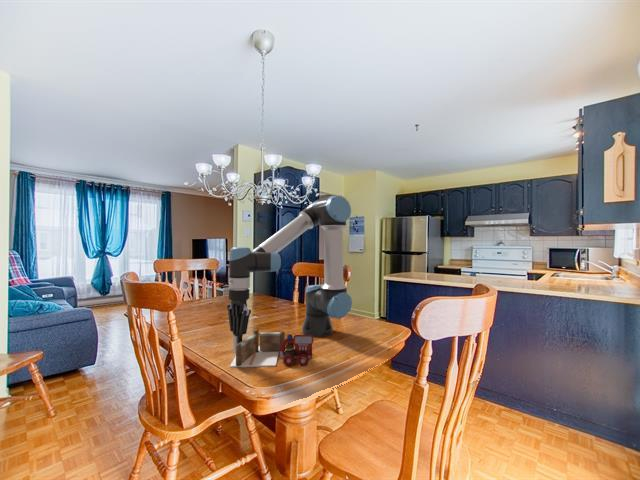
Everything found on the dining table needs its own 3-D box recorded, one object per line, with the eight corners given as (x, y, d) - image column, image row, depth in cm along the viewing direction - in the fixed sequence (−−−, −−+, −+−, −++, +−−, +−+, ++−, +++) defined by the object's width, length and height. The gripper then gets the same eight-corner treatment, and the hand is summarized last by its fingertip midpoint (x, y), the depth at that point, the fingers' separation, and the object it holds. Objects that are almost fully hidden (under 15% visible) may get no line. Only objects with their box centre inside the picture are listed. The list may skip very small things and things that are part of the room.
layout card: (279, 346, 121) (279, 345, 121) (275, 366, 102) (275, 364, 102) (241, 347, 120) (241, 346, 120) (229, 367, 101) (229, 365, 101)
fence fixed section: (284, 351, 116) (284, 328, 116) (284, 352, 114) (284, 330, 114) (253, 351, 115) (253, 329, 115) (252, 353, 113) (253, 330, 113)
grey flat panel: (252, 351, 113) (252, 333, 113) (256, 352, 112) (256, 333, 113) (234, 365, 100) (235, 344, 100) (239, 366, 100) (239, 345, 100)
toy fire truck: (281, 358, 109) (281, 330, 109) (314, 359, 108) (314, 331, 109) (277, 366, 102) (278, 336, 102) (312, 367, 102) (312, 337, 102)
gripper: (221, 287, 108) (219, 349, 108) (239, 292, 100) (237, 360, 100) (238, 285, 114) (237, 345, 114) (257, 289, 105) (256, 354, 105)
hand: (237, 352), depth 107 cm, fingers closed
